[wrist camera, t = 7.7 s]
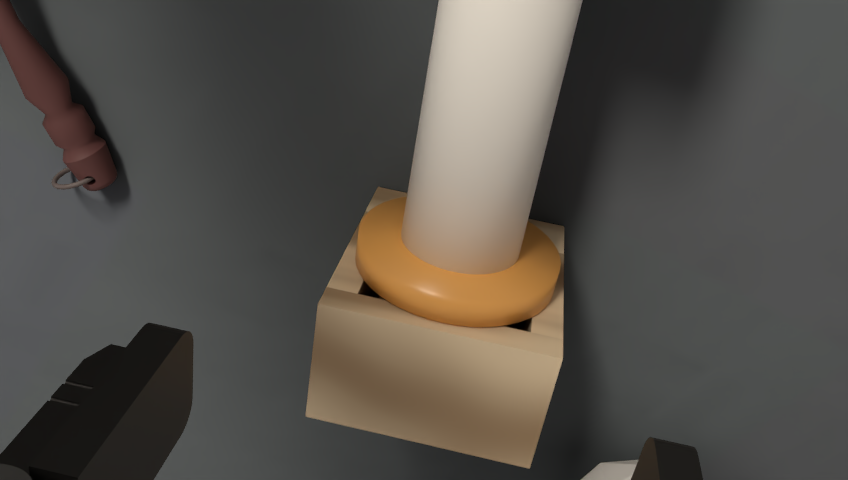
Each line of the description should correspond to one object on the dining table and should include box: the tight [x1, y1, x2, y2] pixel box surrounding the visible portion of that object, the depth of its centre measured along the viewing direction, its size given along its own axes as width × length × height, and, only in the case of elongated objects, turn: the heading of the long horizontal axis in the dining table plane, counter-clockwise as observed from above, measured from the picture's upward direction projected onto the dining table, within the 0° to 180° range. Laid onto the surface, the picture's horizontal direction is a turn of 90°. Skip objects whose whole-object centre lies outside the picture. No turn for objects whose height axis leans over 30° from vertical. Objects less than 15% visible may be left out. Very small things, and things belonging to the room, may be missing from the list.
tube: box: [355, 0, 583, 327], centre depth 24 cm, size 18×7×7 cm, turn 171°
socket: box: [306, 187, 564, 469], centre depth 29 cm, size 4×8×9 cm, turn 81°
